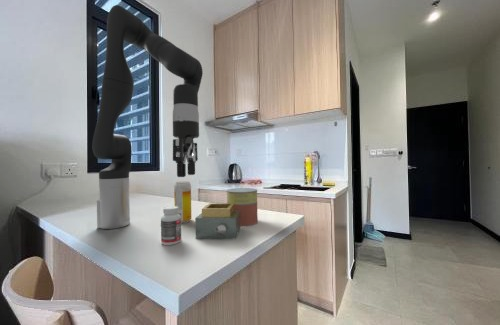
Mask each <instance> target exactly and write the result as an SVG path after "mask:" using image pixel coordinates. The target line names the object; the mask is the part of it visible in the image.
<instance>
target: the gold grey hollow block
mask: <svg viewBox="0 0 500 325" xmlns="http://www.w3.org/2000/svg"><path fill="white" fill-rule="evenodd" d="M194 219H195V224H194V225H195V239H220V240H221V239H222V240H223V239H227V240H228V239H229V240H231V239H233V240H236V239H237V238H238V234H239V232H240V231H241V227H240V210H234V203H227V202H226V203H225V202H224V203H220V202H219V203H212V202H211V203H208V204H207V205H205V206H204V207H203V208H201V213H200V214H198V215H197V216H196V217H195V218H194Z"/></svg>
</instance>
